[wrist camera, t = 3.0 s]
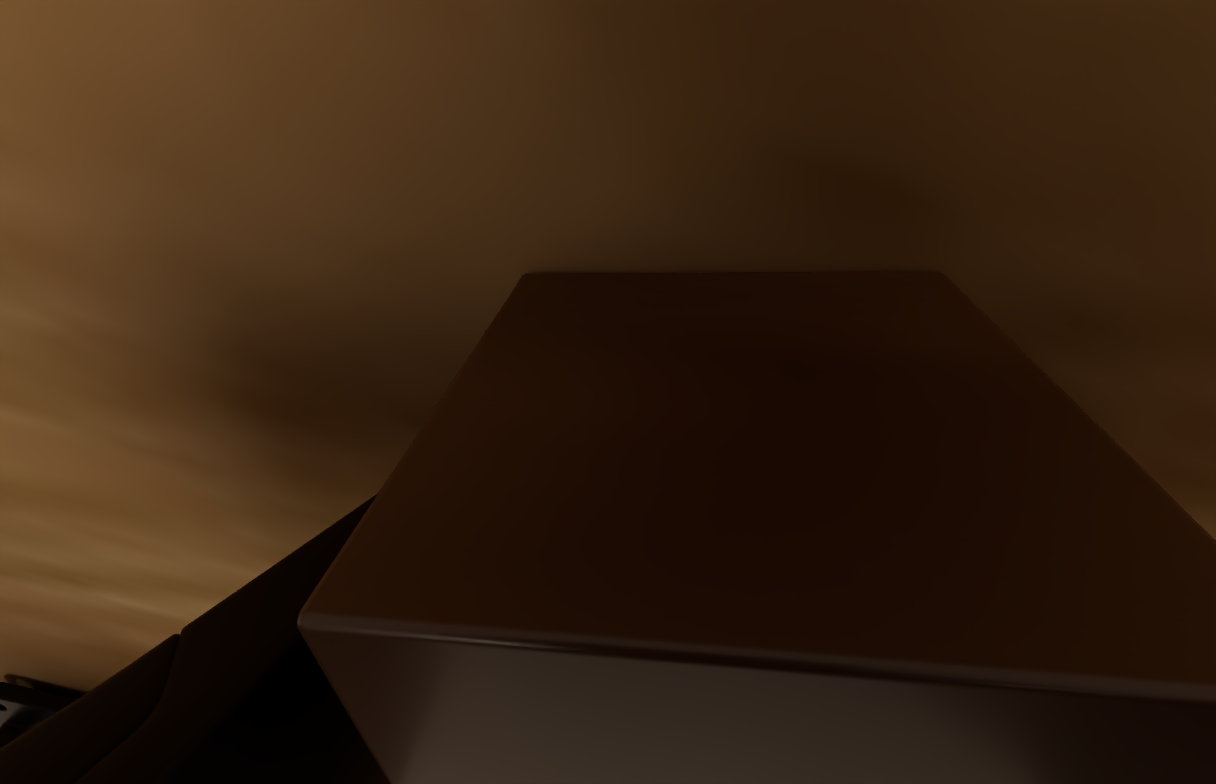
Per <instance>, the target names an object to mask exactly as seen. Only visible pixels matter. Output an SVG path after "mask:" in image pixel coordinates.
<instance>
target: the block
mask: <svg viewBox="0 0 1216 784" xmlns="http://www.w3.org/2000/svg"><path fill="white" fill-rule="evenodd" d="M297 628H298V630H299V631H300V633H301V635H302V637H303V638H304V640H305V642H306V643H307V645H308V647H309V648H310V650H311V652H312V654H313V655H314V657H315V659H316V660H317V662H318V664H319V665H320V667H321V669H322V671H323V672H324V674H325V676H326V677H327V679H328V681H329V683H330V684H331V686H332V688H333V689H334V691H335V693H336V694H337V696H338V698H339V700H340V701H341V703H342V705H343V706H344V708H345V710H346V711H347V713H348V715H349V717H350V718H351V720H352V722H353V723H354V725H355V727H356V729H357V730H358V732H359V734H360V735H361V737H362V739H363V740H364V742H365V744H366V746H367V747H368V749H369V751H370V752H371V754H372V756H373V757H374V759H375V761H376V763H377V764H378V766H379V768H380V769H381V771H382V773H383V774H384V776H385V778H386V780H387V781H388V783H389V784H1216V540H1214V539H1213V538H1212V537H1211V536H1210V535H1209V534H1208V533H1207V532H1206V531H1205V530H1204V529H1203V528H1202V527H1201V526H1200V525H1199V524H1198V523H1197V522H1196V521H1195V520H1194V519H1193V518H1192V517H1191V516H1190V515H1189V514H1188V513H1187V512H1186V511H1185V510H1184V509H1183V508H1182V507H1181V506H1180V505H1179V504H1178V503H1177V502H1176V501H1175V500H1174V499H1173V498H1172V497H1171V496H1170V495H1169V494H1168V493H1167V492H1166V491H1165V490H1164V489H1163V488H1162V487H1161V486H1160V485H1159V484H1158V483H1157V482H1155V481H1154V480H1153V479H1152V478H1151V477H1150V476H1149V475H1148V474H1147V473H1146V472H1145V471H1144V470H1143V469H1142V468H1141V467H1140V466H1139V465H1138V464H1137V463H1136V462H1135V461H1134V460H1133V459H1132V458H1131V457H1130V456H1129V455H1128V454H1127V453H1126V452H1125V451H1124V450H1123V449H1122V448H1121V447H1120V446H1119V445H1118V444H1117V443H1116V442H1115V441H1114V440H1113V439H1112V438H1111V437H1110V436H1109V435H1108V434H1107V433H1106V432H1105V431H1104V430H1103V429H1102V428H1101V427H1100V426H1099V425H1098V424H1097V423H1095V422H1094V421H1093V420H1092V419H1091V418H1090V417H1089V416H1088V415H1087V414H1086V413H1085V412H1084V411H1083V410H1082V409H1081V408H1080V407H1079V406H1078V405H1077V404H1076V403H1075V402H1074V401H1073V400H1072V399H1071V398H1070V397H1069V396H1068V395H1067V394H1066V393H1065V392H1064V391H1063V390H1062V389H1061V388H1060V387H1059V386H1058V385H1057V384H1056V383H1055V382H1054V381H1053V380H1052V379H1051V378H1050V377H1049V376H1048V375H1047V374H1046V373H1045V372H1044V371H1043V370H1042V369H1041V368H1040V367H1039V366H1038V365H1036V364H1035V363H1034V362H1033V361H1032V360H1031V359H1030V358H1029V357H1028V356H1027V355H1026V354H1025V353H1024V352H1023V351H1022V350H1021V349H1020V348H1019V347H1018V346H1017V345H1016V344H1015V343H1014V342H1013V341H1012V340H1011V339H1010V338H1009V337H1008V336H1007V335H1006V334H1005V333H1004V332H1003V331H1002V330H1001V329H1000V328H999V327H998V326H997V325H996V324H995V323H994V322H993V321H992V320H991V319H990V318H989V317H988V316H987V315H986V314H985V313H984V312H983V311H982V310H981V309H980V308H979V307H977V306H976V305H975V304H974V303H973V302H972V301H971V300H970V299H969V298H968V297H967V296H966V295H965V294H964V293H963V292H962V291H961V290H960V289H959V288H958V287H957V286H956V285H955V284H954V283H953V282H952V281H951V280H950V279H949V278H948V277H947V276H946V275H945V274H944V273H941V272H745V273H548V274H525V275H522V277H521V278H520V280H519V281H518V283H517V284H516V286H515V287H514V289H513V290H512V292H511V293H510V295H509V296H508V298H507V299H506V301H505V302H504V304H503V306H502V307H501V309H500V310H499V312H498V313H497V315H496V316H495V318H494V319H493V321H492V322H491V324H490V325H489V327H488V328H487V330H486V331H485V333H484V334H483V336H482V337H481V339H480V340H479V342H478V343H477V345H476V346H475V348H474V349H473V351H472V352H471V354H470V355H469V357H468V358H467V360H466V361H465V363H464V364H463V366H462V367H461V369H460V370H459V372H458V374H457V375H456V377H455V378H454V380H453V381H452V383H451V384H450V386H449V387H448V389H447V390H446V392H445V393H444V395H443V396H442V398H441V399H440V401H439V402H438V404H437V405H436V407H435V408H434V410H433V411H432V413H431V414H430V416H429V417H428V419H427V420H426V422H425V423H424V425H423V426H422V428H421V429H420V431H419V432H418V434H417V435H416V437H415V438H414V440H413V441H412V443H411V445H410V446H409V448H408V449H407V451H406V452H405V454H404V455H403V457H402V458H401V460H400V461H399V463H398V464H397V466H396V467H395V469H394V470H393V472H392V473H391V475H390V476H389V478H388V479H387V481H386V482H385V484H384V485H383V487H382V488H381V490H380V491H379V493H378V494H377V496H376V497H375V499H374V500H373V502H372V503H371V505H370V506H369V508H368V509H367V511H366V513H365V514H364V516H363V517H362V519H361V520H360V522H359V523H358V525H357V526H356V528H355V529H354V531H353V532H352V534H351V535H350V537H349V538H348V540H347V541H346V543H345V544H344V546H343V547H342V549H341V550H340V552H339V553H338V555H337V556H336V558H335V559H334V561H333V562H332V564H331V565H330V567H329V568H328V570H327V571H326V573H325V574H324V576H323V577H322V579H321V581H320V582H319V584H318V585H317V587H316V588H315V590H314V591H313V593H312V594H311V596H310V597H309V599H308V600H307V602H306V603H305V605H304V606H303V608H302V609H301V611H300V613H299V617H298V620H297Z"/></svg>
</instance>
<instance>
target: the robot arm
mask: <svg viewBox="0 0 1216 784" xmlns="http://www.w3.org/2000/svg"><path fill="white" fill-rule="evenodd" d="M376 496H377V494H376V495H375V496H373V497H372V498H371V499H369V500H368V501H366V502H365V503H363V504H362V505H360V506H359V507H358V508H356V509H355V510H353V511H352V512H350V513H349V514H347V515H346V516H345V517H343V518H342V519H340V520H339V521H337V522H336V523H334V524H333V525H332V526H330V527H329V528H327V529H326V530H324V531H323V532H321V533H320V534H318V535H317V536H316V537H314V538H313V539H311V540H310V541H308V542H307V543H305V544H304V545H303V546H301V547H300V548H298V549H297V550H295V551H294V552H292V553H291V554H290V555H288V556H287V557H285V558H284V559H282V560H281V561H279V562H278V563H277V564H275V565H274V566H272V567H271V568H269V569H268V570H266V571H265V572H264V573H262V574H261V575H259V576H258V577H256V578H255V579H253V580H252V581H250V582H249V583H248V584H246V585H245V586H243V587H242V588H240V589H239V590H237V591H236V592H235V593H233V594H232V595H230V596H229V597H227V598H226V599H224V600H223V601H222V602H220V603H219V604H217V605H216V606H214V607H213V608H211V609H210V610H208V611H207V612H206V613H204V614H203V615H201V616H200V617H198V618H197V619H195V620H194V621H193V622H191V623H190V624H188V625H187V626H185V627H184V628H183V629H182V631H181V634H174V635H172V636H171V637H169V638H168V639H166V640H165V641H163V642H162V643H160V644H159V645H158V646H156V647H155V648H153V649H152V650H150V651H149V652H147V653H146V654H145V655H143V656H142V657H140V658H139V659H137V660H136V661H134V662H133V663H131V664H130V665H128V666H127V667H125V668H124V669H122V670H121V671H119V672H118V673H116V674H115V675H113V676H112V677H110V678H109V679H107V680H106V681H104V682H103V683H102V684H100V685H99V686H97V687H96V688H94V689H93V690H91V691H90V692H88V693H87V694H85V695H84V696H82V697H81V698H79V699H75V698H70V697H66V696H62V695H57V694H53V693H49V692H44V691H40V690H36V689H32V688H27V687H23V686H19V685H14V684H10V683H6V682H0V784H389V783H388V781H387V780H386V778H385V776H384V774H383V773H382V771H381V769H380V768H379V766H378V764H377V763H376V761H375V759H374V757H373V756H372V754H371V752H370V751H369V749H368V747H367V746H366V744H365V742H364V740H363V739H362V737H361V735H360V734H359V732H358V730H357V729H356V727H355V725H354V723H353V722H352V720H351V718H350V717H349V715H348V713H347V711H346V710H345V708H344V706H343V705H342V703H341V701H340V700H339V698H338V696H337V694H336V693H335V691H334V689H333V688H332V686H331V684H330V683H329V681H328V679H327V677H326V676H325V674H324V672H323V671H322V669H321V667H320V665H319V664H318V662H317V660H316V659H315V657H314V655H313V654H312V652H311V650H310V648H309V647H308V645H307V643H306V642H305V640H304V638H303V637H302V635H301V633H300V631H299V630H298V628H297V620H298V617H299V613H300V611H301V609H302V608H303V606H304V605H305V603H306V602H307V600H308V599H309V597H310V596H311V594H312V593H313V591H314V590H315V588H316V587H317V585H318V584H319V582H320V581H321V579H322V577H323V576H324V574H325V573H326V571H327V570H328V568H329V567H330V565H331V564H332V562H333V561H334V559H335V558H336V556H337V555H338V553H339V552H340V550H341V549H342V547H343V546H344V544H345V543H346V541H347V540H348V538H349V537H350V535H351V534H352V532H353V531H354V529H355V528H356V526H357V525H358V523H359V522H360V520H361V519H362V517H363V516H364V514H365V513H366V511H367V509H368V508H369V506H370V505H371V503H372V502H373V500H374V499H375V497H376Z"/></svg>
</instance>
